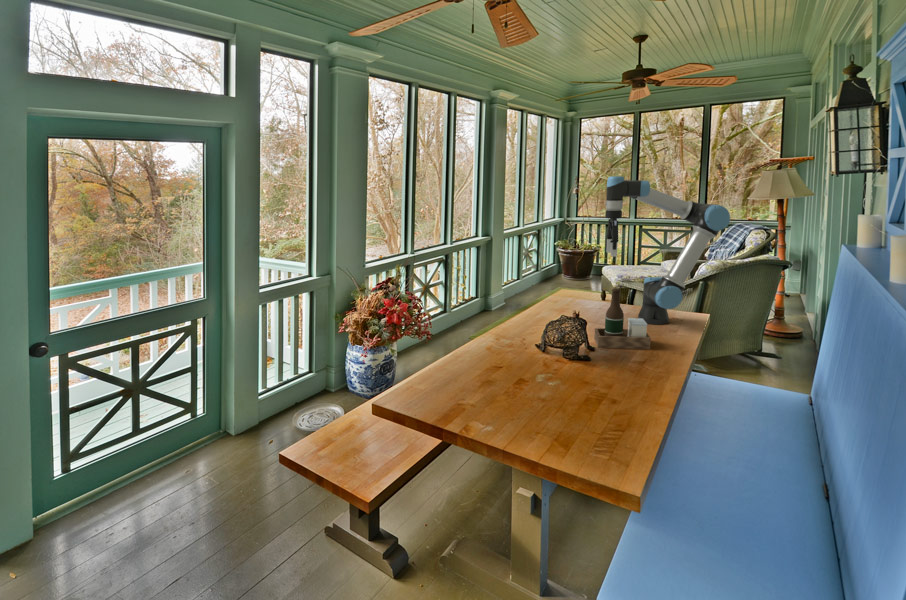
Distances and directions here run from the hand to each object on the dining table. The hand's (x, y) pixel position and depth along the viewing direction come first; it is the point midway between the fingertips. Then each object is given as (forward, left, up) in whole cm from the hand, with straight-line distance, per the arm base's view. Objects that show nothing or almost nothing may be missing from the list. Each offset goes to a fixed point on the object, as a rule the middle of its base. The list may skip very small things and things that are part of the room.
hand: (611, 254), depth 263 cm
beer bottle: (+19, +18, -36) cm, 44 cm away
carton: (+11, +25, -36) cm, 45 cm away
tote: (+16, +21, -37) cm, 45 cm away
